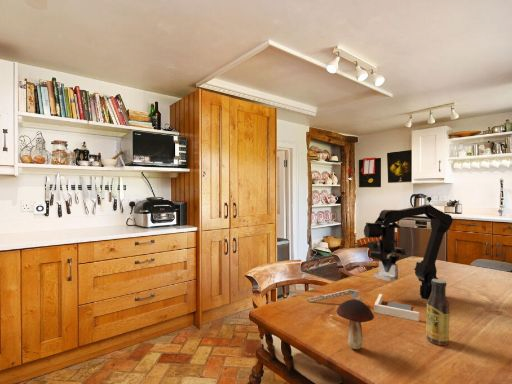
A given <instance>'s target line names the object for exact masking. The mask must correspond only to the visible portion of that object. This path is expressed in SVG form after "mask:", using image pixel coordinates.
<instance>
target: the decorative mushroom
mask: <svg viewBox="0 0 512 384" xmlns="http://www.w3.org/2000/svg"><path fill="white" fill-rule="evenodd" d="M356 299H357V298H356ZM356 299H349V300H348V299H347V300H345V301H344V302H342V303H340V304H339V305H338V307H337V309H336V315H338V316H339V317H340V318H343V319H345V320H349V322H348V323H349V324H348V328H347V329H348V331H347V344H348V345H349V348H352V349H353V350H360V349H361V348H362V346H363V329H362V328H363V327H362V324H361V323H367V322H370V321H373V320H374V318H375V316H374V315H375V314H374V313H373V311H372V310H371V308H370V307H369V306H368V305H367V304H366V303H364V301H363V302H361V301H359V300H356Z"/></svg>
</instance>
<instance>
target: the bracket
mask: <svg viewBox="0 0 512 384" xmlns="http://www.w3.org/2000/svg"><path fill="white" fill-rule="evenodd" d="M344 296H351V299H356V300H359V301H361V302H363V303H364V300H363V298H362V296H361V294H360V292H359V290H358V289H346V290H342V291H338V292H333V293H327V294H326V295H325V294H324V295H321V294H319V295H317V296H312V297H307V298H306V299H307V302H308V303H312V302H313V303H315V302H318V301H323V300H328V299H332V298H333V299H334V298H339V297H344ZM357 296H358V297H359V298H358V299H357ZM311 299H312V300H311ZM351 299H350V300H351Z"/></svg>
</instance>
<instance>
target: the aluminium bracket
mask: <svg viewBox="0 0 512 384" xmlns="http://www.w3.org/2000/svg"><path fill="white" fill-rule="evenodd" d="M398 266H399V264H396V263H395V264H393V263H391V264H390V268H389V271H388V272H385V269H384V266H383V264H382V261H381V260H379V261H378V272H374V273H373V278H376V279H380V280H384V281H387V282H392V281H395V280H398V279H399V277H398V276H399V275H398V274H399V267H398Z"/></svg>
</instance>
